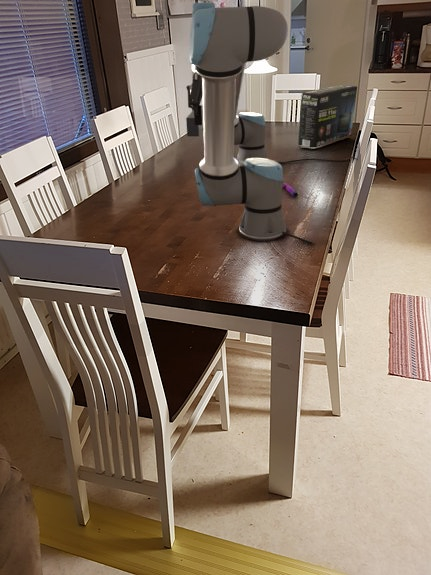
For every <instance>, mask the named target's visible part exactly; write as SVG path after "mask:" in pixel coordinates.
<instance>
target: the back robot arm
mask: <svg viewBox="0 0 431 575" xmlns="http://www.w3.org/2000/svg"><path fill="white" fill-rule="evenodd" d="M246 63H247V62H242V71H241V73H240V74H238V75H237V76H236V83H235V124H234V146H238V153H237V155H236V158H235V159H236V160H237V161H238V164H239V165H244V162H245V160H246V159H250V158H264V159H269V158H268V156H267V152H266V147H265V146H266V145H265V144H266V127H267V126H266V118H265V116H264V115H263V114H261V113H256V112H249V111H248V112H247V111H246V112H245V111H243V112H239V113H238V108H239V103H240V97H241V91H242V85H243V80H244V74H245V69H246ZM190 64H191V63H190ZM191 71H192V72H191V80H192V81H191V84H189V85H186V87H185V88H186V90H187V107H188V108H189V109H191V112H192V111H193V110H194V106H193V105H190V104H189V100H190V95H191V89H192V84H193V74H194V73H195V74H198V73H197V72H196V68H195V65H193V64H191ZM350 158H351V159H353V160H355V161H357V158H356V157H355V156H350ZM346 159H347V158H346ZM349 160H350V159H347V160H345V159H328V158H327V159H326V158H301V159H293V160H292V159H291V160H288V161H277V162H278V163H279V164H280V165H282V164H291V163H295V162H301V161H302V162H303V161H321V162H333V163H334V162H336V163H342V162H347V161H349Z"/></svg>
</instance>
